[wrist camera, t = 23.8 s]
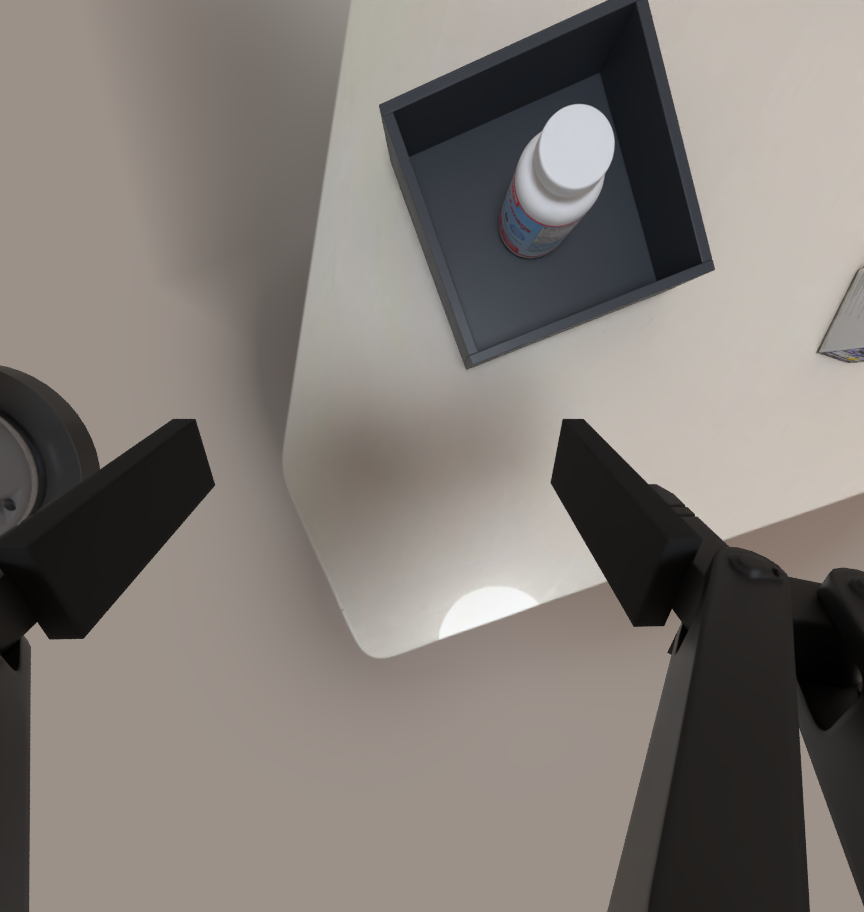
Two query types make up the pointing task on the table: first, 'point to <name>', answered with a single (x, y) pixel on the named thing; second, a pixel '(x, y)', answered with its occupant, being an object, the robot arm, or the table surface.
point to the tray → (495, 160)
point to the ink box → (848, 326)
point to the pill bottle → (556, 180)
